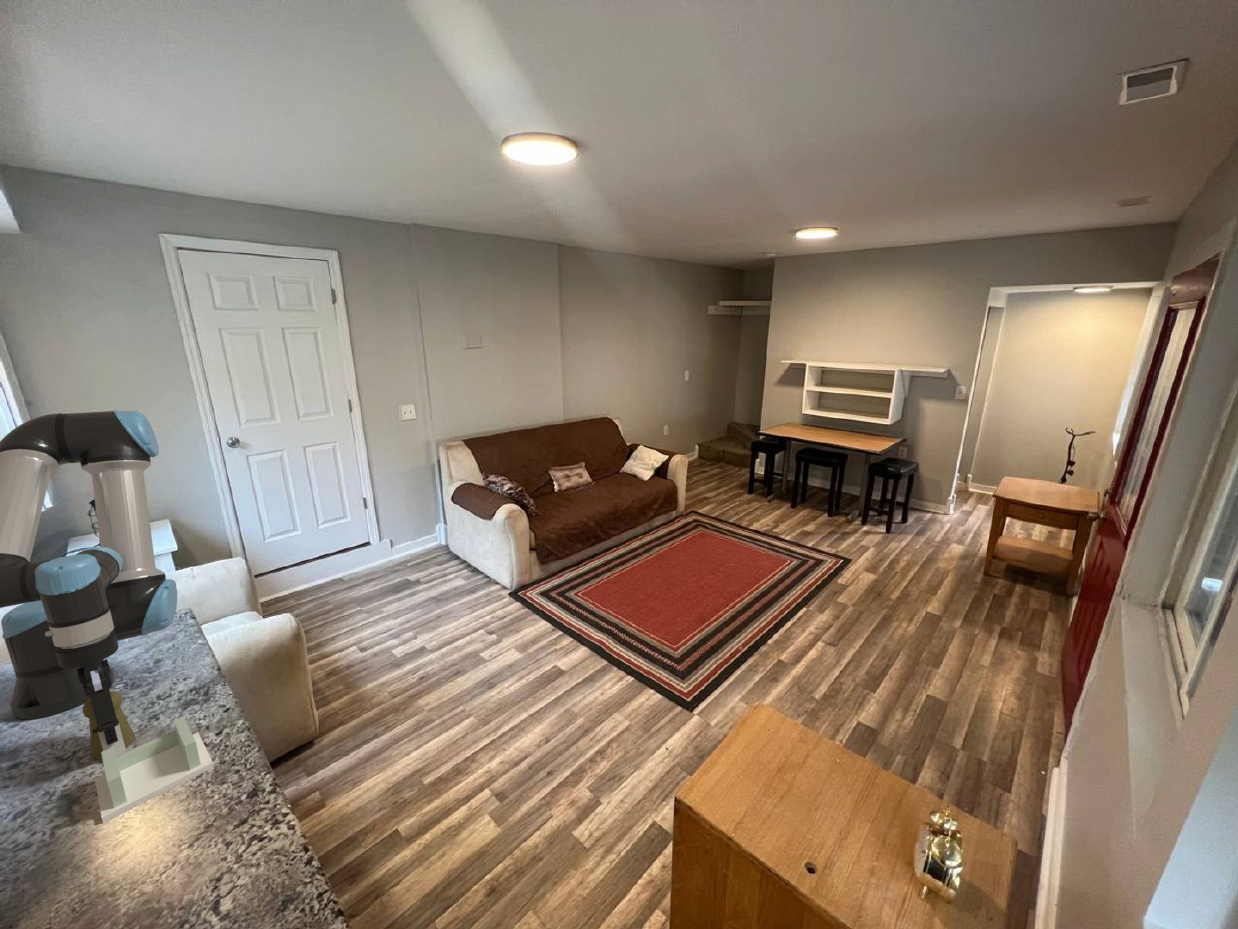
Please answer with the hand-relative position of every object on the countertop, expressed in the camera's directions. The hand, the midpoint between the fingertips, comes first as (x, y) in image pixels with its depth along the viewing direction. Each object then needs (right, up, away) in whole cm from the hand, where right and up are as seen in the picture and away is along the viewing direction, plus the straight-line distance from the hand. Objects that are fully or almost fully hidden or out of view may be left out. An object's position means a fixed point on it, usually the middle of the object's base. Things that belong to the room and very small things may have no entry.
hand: (113, 745), depth 92 cm
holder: (+15, -1, -7) cm, 16 cm away
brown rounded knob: (0, 0, 0) cm, 0 cm away
